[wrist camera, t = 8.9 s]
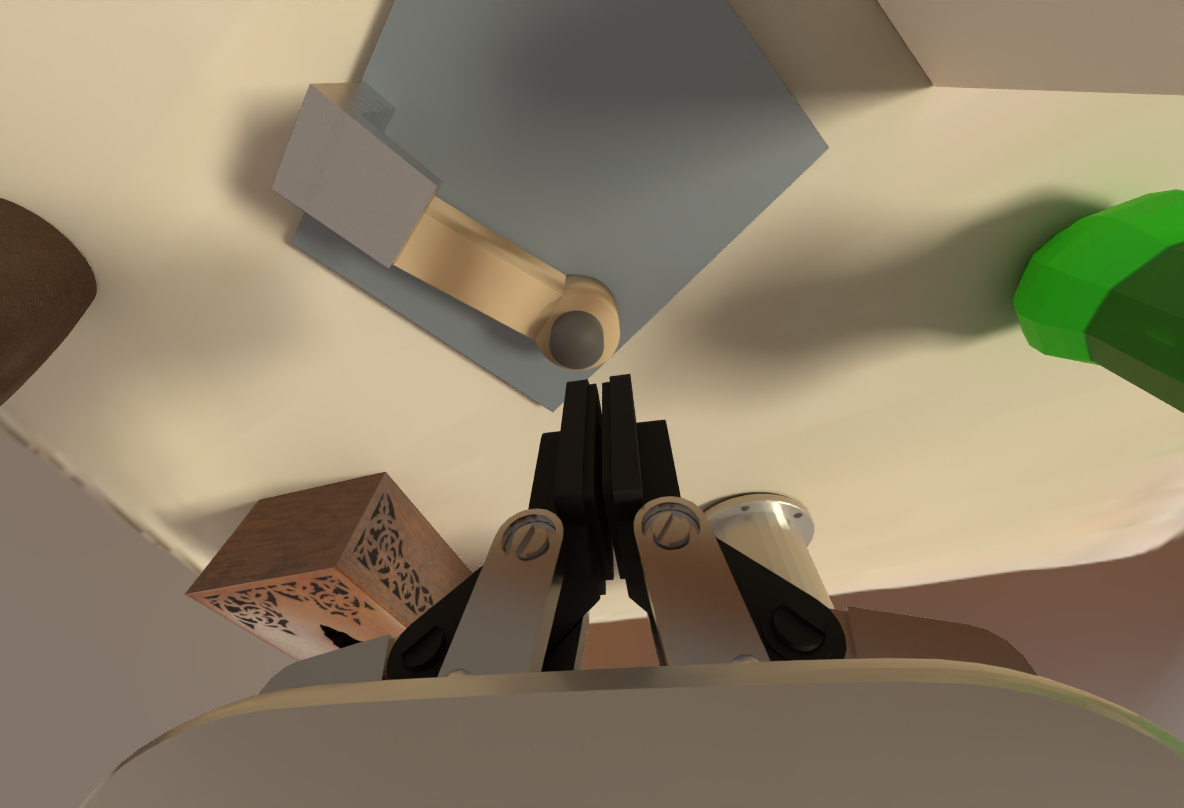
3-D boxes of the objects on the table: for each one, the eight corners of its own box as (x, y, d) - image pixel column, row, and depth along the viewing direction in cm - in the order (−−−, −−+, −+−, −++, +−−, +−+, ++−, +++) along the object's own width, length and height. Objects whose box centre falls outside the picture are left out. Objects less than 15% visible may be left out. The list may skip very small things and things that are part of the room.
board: (554, 403, 35) (552, 412, 34) (302, 237, 27) (291, 243, 26) (819, 144, 24) (829, 147, 23) (524, -271, 16) (519, -295, 15)
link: (633, 301, 28) (639, 334, 24) (590, 359, 30) (590, 395, 27) (396, 154, 23) (360, 168, 19) (370, 238, 25) (334, 264, 22)
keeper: (428, 231, 26) (388, 268, 21) (338, 164, 24) (271, 188, 19) (469, 162, 24) (436, 186, 19) (375, 81, 22) (309, 83, 17)
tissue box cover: (261, 497, 43) (184, 593, 35) (386, 469, 40) (335, 567, 32) (401, 617, 58) (370, 703, 50) (499, 602, 55) (483, 691, 47)
